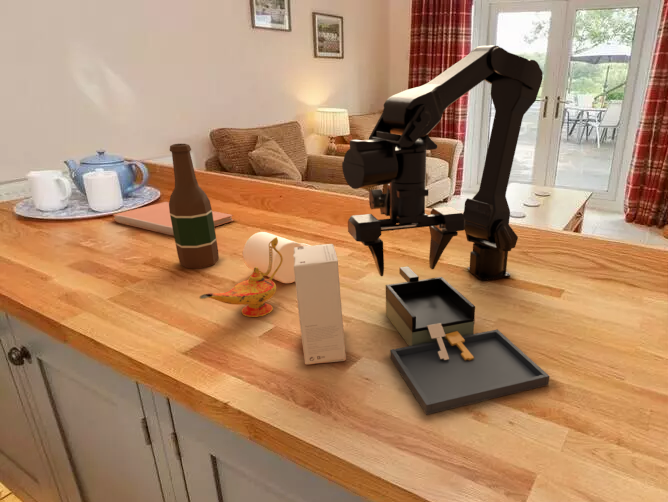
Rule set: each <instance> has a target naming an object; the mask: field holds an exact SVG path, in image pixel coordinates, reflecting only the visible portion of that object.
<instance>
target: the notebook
mask: <svg viewBox="0 0 668 502" xmlns="http://www.w3.org/2000/svg"><path fill="white" fill-rule="evenodd" d="M212 214H213V221H214V227H218V226H221V225H224V224H227V223H230V222H233V221H235V219H233V218H232V217H234V214H230V213H226V212H219V211H214V210H212ZM112 216H113V217H114V218H113V221H115V222H116V223H118V224H123V225H126V226H131V227H135V228H138V229H139V228H140V229H143V230H147V231H152V232H155V233H160V234H164V235H167V236H173V237H174V233H173V228H172V222H171V217H170V211H169V201H164V202H159V203H155V204H151V205H146V206H143V207H138V208H135V209H131V210H127V211H123V212H119V213H113V214H112Z"/></svg>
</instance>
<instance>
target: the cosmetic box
mask: <svg viewBox="0 0 668 502" xmlns="http://www.w3.org/2000/svg"><path fill="white" fill-rule="evenodd" d="M293 257H294V274H295V282H294V283H295V292H296V293H295V295H296V301H297V303H296V304H297V311H298V321H299V330H300V337H301V342H302V343H301V344H302V351H303V359H304V364H305V365H315V364H323V363H324V364H325V363H337V362H345V361H346V359H347V355H346V343H345V334H344V319H343V309H342V308H343V307H342V297H341V282H340V272H339V259H338V255H337V251H336V248H335V245H334V244H333V243H323V244H316V245H315V244H314V245H310V246H303V247H295V248H294V255H293Z"/></svg>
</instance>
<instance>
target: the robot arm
mask: <svg viewBox="0 0 668 502" xmlns="http://www.w3.org/2000/svg"><path fill="white" fill-rule="evenodd" d="M543 73H544V72H543V70H542V68H541V67H540V64H539V63H538V62H537V61H536V60H535V59H527V58H526V57H523V56H520V55H517V54H514V53H512V52H510V51H508V50H506V49H504V48H503V47H500V46H499V45H478V46H476V47H475V48H473V49H472V50H470V53H468V54H467V55H466V56H464V57H463V58H461V59H460V60H459V61H457V62H456V63H454V64H452V65H451V66H450V67H448V68H447V69H446V70H444V71H442V72H441V73H440V74H439V75H437V76H436V77H434V78H432V79H431V80H430V81H429V82H427V83H425V84H422V85H420V86H416V87H413V88H408V89H405V90H402V91H401V92H398V93H395V94H393V95H390V96H389V97H388V98H387V99H386V100H385V101H384V104H383V110H382V113H381V115H380V117H379V118H378V120H377V122H376V124H375V126H374V127H373V129H372V131H371V133H370V135H369V137H368V139H364V140H361V139H350V140H349V149H347V150H346V152H345V153H344V157H343V161H342V162H341V167H342V173H343V177H344V179H345V182H346V183H347V185H348V186H349V187H350V188H351V189H353V190H358V189H364V188H370V187H377V186H383V185H384V186H385V185H386V193H383V190H382V189H381V188H378V189H377V188H376V189H370V190H369V191H368V204H369V209H370V210H379V211H380V215H384V216H386V217H389V218H381V219H378V218H376V216H375V215H373V214H372V213H365V214H354V215H350V217H349V218H348V220H347V232H348V234H349V235H350V236H351V237H352V238H353V239H354V240H355V242H360V243H362V244H363V246H365V247H367V248H368V249H369V251H370V253H371V256H372V258H373V261H374V264H375V267H376V270H377V272H378V275H379V276H380V277H384V273H385V258H384V257H385V256H384V253H385V252H384V241H383V240H382V239H381V238H380V237H381V236H382V232H389V231H399V230H408V229H418V228H419V229H420V228H426V227H427V228H429V234H430V243H429V244H430V245H429V255H428V256H429V257H428V261H429V265H428V266H429V268H430V269H431V270H435V268H436V266H437V265H438V262H439V260H440V258H441V256H442V254H443V253H444V251H445V249H446V248H447V247H448V245H449V244H450V242H451V240H453V238H454V237H457V236H458V234H459V232H461V231H464V232H465V233H464V234H465V237H466V241H467V242H468V243H469V242H470V243H472V251H470V255H469V266H467V271H468V272H470V273H471V274H472V275H473V276H474V277H476V278H477V279H478V280H480V281H482V282H485V281H492V280H498V279H505V278H506V279H507V278H510V277H511V273H510V272H508V271H507V267H508V266H507V265H508V258H509V257H508V256H509V252H511V251H512V249H516V245H517V243H518V240H519V237H518V235H517V234H516V232H515V231H514V230H513V228H512V226H510V219H511V218H510V217H511V210H510V207H509V203H508V199H507V197H506V196H507V191H508V186H509V182H510V178H511V173H512V168H513V163H514V159H515V154H516V149H517V145H518V141H519V136H520V133H521V127H522V124H523V120H524V119H523V118H524V116H525V114H526V113H527V112H528V110H529V109H530V108H531V107H532V106H533V104H534V103H535V102H536V100H537V98H538V94H539V92H540V88H541V86H542V83H543V79H544V78H543V76H544V75H543ZM483 81H485V82H486V83H487V84H490V97H491V101H492V103H493V107H494V117H493V121H492V126H491V131H490V137H489V140H488V145H487V150H486V154H485V155H486V156H485V161H484V165H483V169H482V170H483V171H482V173H481V174H482V175H481V180H480V184H479V188H478V191H477V193H475V195H473V197H472V198H469V197H468V198H466V199H465V202H464V207H463V208H464V209H463V212H461V211H459V210H457V209H456V208H454V207H452V206H442V207H432V209H431V211H430V214H427V213H426V197H428V196H429V189H428V188H427V186H426V185H427V183H426V181H427V180H426V178H427V151H434V150H437V149H438V145H437V144H436V142H434V141H433V140H432V139H431V137H430V136H429V134H430V133H431V131H433V129H434V128H436V126H437V125H438V124H439V123H440V122H441V120H442V118H443V116H444V112H445V111H446V110H447V108H448V107H449V106H451V105H452V104H454V103H455V102H456V101H457V100H460V98H462V97H463V96H464V95H466V94H467V93H468V92H470V91H472V89H474V88H475V87H477V86H478V85H480V84H481V83H482V82H483Z"/></svg>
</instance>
